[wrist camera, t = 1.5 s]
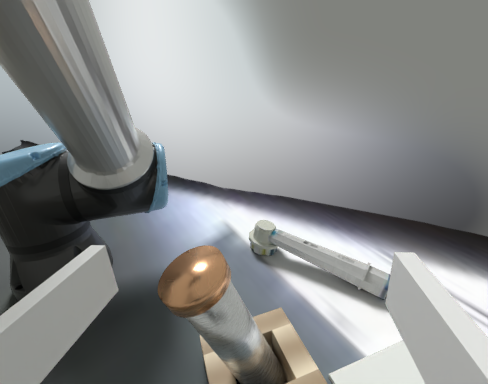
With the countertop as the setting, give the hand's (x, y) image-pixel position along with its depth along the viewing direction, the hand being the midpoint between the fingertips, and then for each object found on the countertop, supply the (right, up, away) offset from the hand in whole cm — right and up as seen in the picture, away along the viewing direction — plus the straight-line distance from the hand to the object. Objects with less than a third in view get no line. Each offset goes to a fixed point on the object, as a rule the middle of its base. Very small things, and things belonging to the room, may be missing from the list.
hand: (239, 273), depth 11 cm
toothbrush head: (+12, -10, +34) cm, 37 cm away
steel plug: (+3, -17, +16) cm, 23 cm away
